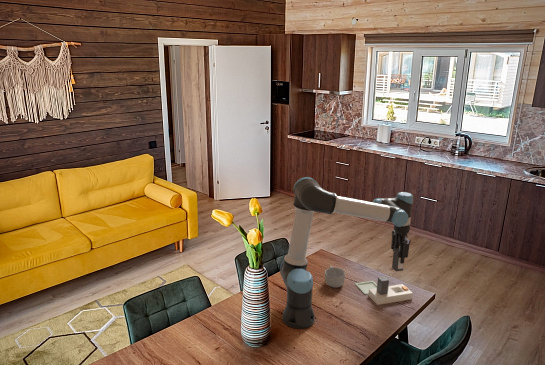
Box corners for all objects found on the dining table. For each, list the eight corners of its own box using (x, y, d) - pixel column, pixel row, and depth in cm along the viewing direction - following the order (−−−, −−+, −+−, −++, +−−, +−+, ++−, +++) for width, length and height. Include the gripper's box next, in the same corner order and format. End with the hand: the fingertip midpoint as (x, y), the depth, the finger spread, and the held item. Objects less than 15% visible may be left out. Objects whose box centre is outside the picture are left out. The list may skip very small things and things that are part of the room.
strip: (377, 305, 213) (379, 284, 210) (368, 296, 221) (370, 275, 218) (411, 299, 219) (414, 279, 215) (401, 290, 227) (404, 270, 224)
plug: (403, 270, 216) (405, 250, 213) (396, 271, 215) (398, 251, 212) (398, 266, 220) (400, 247, 217) (391, 267, 219) (393, 248, 216)
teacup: (345, 290, 226) (346, 276, 224) (324, 289, 226) (325, 276, 224) (341, 277, 240) (342, 264, 237) (322, 276, 240) (323, 263, 238)
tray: (364, 295, 222) (364, 293, 222) (354, 284, 232) (355, 283, 232) (383, 292, 225) (383, 290, 225) (372, 282, 235) (373, 280, 235)
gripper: (419, 229, 203) (413, 273, 210) (399, 216, 219) (395, 257, 226) (405, 230, 202) (400, 275, 208) (386, 217, 217) (382, 259, 224)
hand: (397, 266), depth 217 cm, fingers closed on plug, 4 cm apart
